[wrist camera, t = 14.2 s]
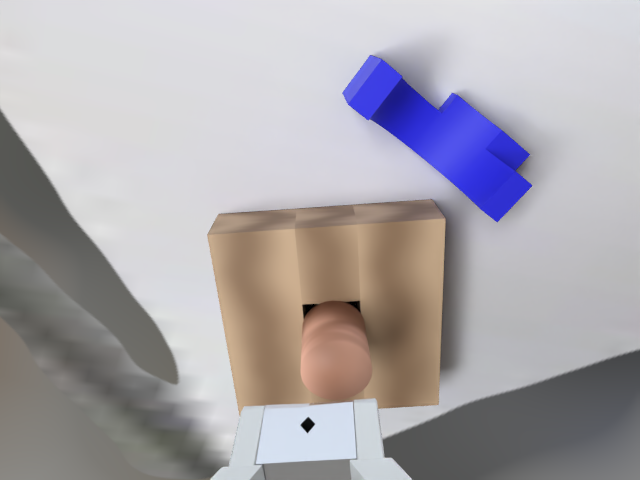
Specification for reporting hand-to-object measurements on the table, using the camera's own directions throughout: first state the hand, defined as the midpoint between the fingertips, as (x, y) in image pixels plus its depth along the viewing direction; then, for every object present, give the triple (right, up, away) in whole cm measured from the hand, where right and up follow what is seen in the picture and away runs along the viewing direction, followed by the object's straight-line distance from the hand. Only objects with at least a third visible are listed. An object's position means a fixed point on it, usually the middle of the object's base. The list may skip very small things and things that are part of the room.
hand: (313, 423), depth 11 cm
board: (+1, -1, +28) cm, 28 cm away
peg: (+1, -1, +27) cm, 28 cm away
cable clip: (+8, +13, +23) cm, 27 cm away
